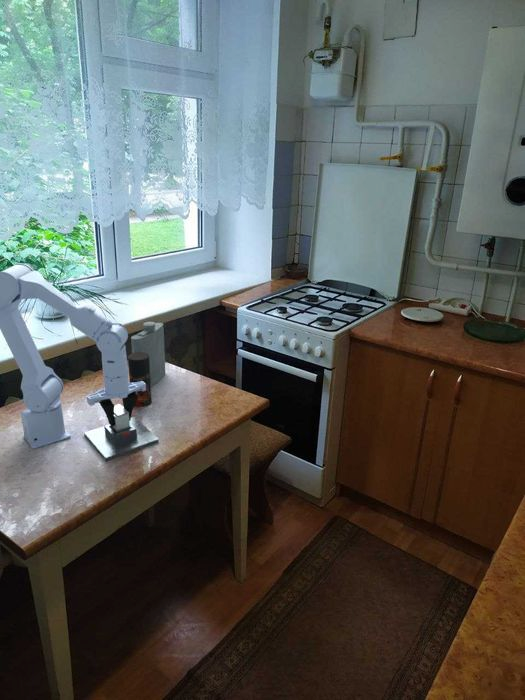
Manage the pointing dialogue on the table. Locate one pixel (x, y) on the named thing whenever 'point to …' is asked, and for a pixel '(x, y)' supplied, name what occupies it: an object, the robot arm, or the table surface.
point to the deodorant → (140, 376)
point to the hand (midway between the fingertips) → (119, 421)
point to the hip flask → (152, 348)
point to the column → (120, 419)
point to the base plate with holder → (120, 439)
